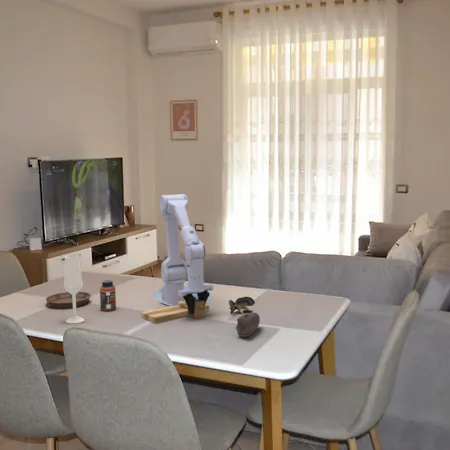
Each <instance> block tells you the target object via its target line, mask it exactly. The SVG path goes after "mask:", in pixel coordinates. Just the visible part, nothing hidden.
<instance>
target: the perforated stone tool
mask: <svg viewBox="0 0 450 450" xmlns="http://www.w3.org/2000/svg"><path fill="white" fill-rule="evenodd" d="M236 321H237V323H236V326H235V330H236V331H237V336H239V337H240V338H247V337H248V338H249V337H250V336H252V335H253V334H254V333H255V332H256V331H257V329H258V327H259V325H260V322H261V320H260V315H259V313H257V312H249V313H246V314H243V315H241V316H239V317H238V318H237V319H236Z"/></svg>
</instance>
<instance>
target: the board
mask: <svg viewBox="0 0 450 450" xmlns="http://www.w3.org/2000/svg"><path fill="white" fill-rule="evenodd" d="M209 311H210V305H208V304H205V313H206V312H209ZM185 317H189V316H188V308H187V307H184V306H180V305H178V304H176V305H171V306H168V305H166V306H164V307H158V308H154V309H150V310H145V311H141V312H140V318H141V319H144V320H145V321H149V322H151V323H153V324H156V325H157V324H160V323H163V322H168V321H172V320H177V319H181V318H185Z"/></svg>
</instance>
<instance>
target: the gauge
mask: <svg viewBox="0 0 450 450" xmlns="http://www.w3.org/2000/svg"><path fill="white" fill-rule="evenodd" d="M178 305H180V306H184V307H187V304H186V302H183V301H178ZM205 305H206V304H205V302H204V301H203V300H200V299H198V298H197V297H196V298H195V302H194V314H190V313H189V310H188V316H187V317H190V318H192V319H195V320H197V319H198V320H199V319H201V318H202V319H203V318H205V316H206V315H205V314H206V312H205ZM187 308H188V307H187Z"/></svg>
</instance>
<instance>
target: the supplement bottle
mask: <svg viewBox="0 0 450 450" xmlns="http://www.w3.org/2000/svg"><path fill="white" fill-rule="evenodd" d="M116 296H117V295H116V287H115V285H114V283H113V280H111V279H106V280H102V281H101V286H100V287H99V298H100V299H99V301H100V303H99V304H100V305H99V306H100V310H101V311H103V312H111V310H112V311H115V310H114V309H117V299H116Z"/></svg>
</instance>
